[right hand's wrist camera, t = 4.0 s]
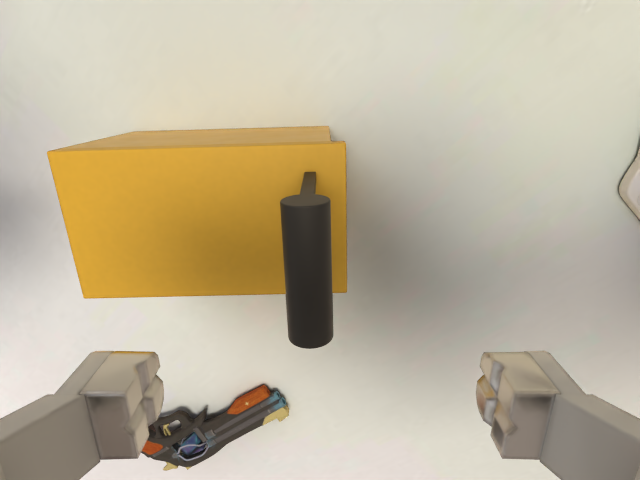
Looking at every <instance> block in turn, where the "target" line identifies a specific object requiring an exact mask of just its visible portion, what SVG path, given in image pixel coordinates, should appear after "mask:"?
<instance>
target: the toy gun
mask: <svg viewBox="0 0 640 480" xmlns="http://www.w3.org/2000/svg"><path fill="white" fill-rule="evenodd" d="M288 415H289V408H288V407H287V406H286V401H285V399H284V398H283V397H281V398H280V394H279V392H278V391H275V392H274V391H272V392H270V391H269V389H268V388H267V387H266V386H265V385H262V386H260V387H258V388H256V389H254V390H252V391H250V392H249V393H247V394H245V395H243V396H241V397H239V398H237V399H236V400H235V401H234V403H233V404H232V405H231V407H230V408H229V409H228V410H227V411H226V412H224V413H222V414H220V415H219V416H217V417H214V418H211V419H207V420H204V419H205V417H206V409H204V411H203V412H202V413H201V414H200V415H199V416H198V417H196V418H195V419H192V418H190V416H189V415H188V414H187V413H186V412H184V411H181V410H180V411H177V412H175V413H173V414H171V415H169V416H165V417H161V418H158V419H157V421H155V422H154V423H153V426H154V428H155V430H156V432H155V431H153V430H151V429H149V428H148V430H149V437H148V439H147V441H146V443H145V445H144V447H143V449H142V451H141V453H143V454H145V455H146V456H147V457H151V458H152V459H155V460H160V461H166V463H167V465H166V466H165V467H164V469H163V470H170V469H173V468H174V469H176V468H178V466H179V465H180V466H183V467H186V468H187V470H188V469H189V468H190V467H192V466H194V465H196V464H198V463H200V462H202V461H204V460H205V459H207V458H209V457H211V456H212V455H214V454H215V453H217V452H218V451H219V450H220V449H222V448H223V447H224V446H225V445H226V444H228V443H229V442H231V441H233V440H235V439H237V438H239V437H240V436H242V435H244V434H246V433H248V432H250V431H252V430H254V429H256V428H258V427H260V426H263V425H265V424H266V423H268V422H270V421H272V420H274V419H276V418H277V419H278V420H279V422H281V421H282V420H283V419H285V418H286V417H287V416H288ZM175 420H179V421H180V422H181V427H179V428H178V429H176V430H174V431H172V432H170V431H169V429H168V428H167V426H169V424H170V423H171V422H173V421H175ZM163 424H164V426H163V430H164V432H163V431H162V429H161V427H160V425H163ZM165 429H166V430H165ZM166 431H167V432H166ZM188 435H189V436H188ZM187 436H188V437H187ZM185 437H187V439H186V440H185V441H184V442H183V440H184V438H185ZM180 440H182V441H181V445H179V444H178V443H177V442H178V441H180ZM206 443H207V444H208V447H207V448H205V449H204V447H205V444H206ZM199 451H200V452H199ZM197 452H198V453H197ZM194 453H195V454H194Z"/></svg>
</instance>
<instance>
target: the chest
mask: <svg viewBox="0 0 640 480" xmlns="http://www.w3.org/2000/svg"><path fill="white" fill-rule="evenodd" d="M296 142H331V137H330V131H329V126H312V127H277V128H242V129H207V130H172V131H138V132H130V133H125V134H121V135H116V136H112V137H108V138H103V139H99V140H95V141H90V142H86V143H82V144H77V145H73V146H68V147H64V148H60V149H83V148H119V147H154V146H190V145H225V144H261V143H296Z"/></svg>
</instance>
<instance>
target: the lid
mask: <svg viewBox="0 0 640 480" xmlns="http://www.w3.org/2000/svg"><path fill="white" fill-rule="evenodd" d="M47 155H48V159H49V163H50V167H51V171H52V174H53V178H54V182H55V186H56V190H57V194H58V198H59V202H60V206H61V210H62V214H63V218H64V222H65V226H66V230H67V234H68V238H69V242H70V246H71V249H72V253H73V257H74V261H75V265H76V269H77V273H78V277H79V281H80V285H81V289H82V293H83V297H84V298H126V297H171V296H216V295H260V294H286V305H287V321H288V337H289V340H290V341H291V343H292V344H294V345H296V346H298V347H301V348H309V349H311V348H318V347H322V346H324V345H326V344H328V343H329V342H330V341H331V340H332V338H333V297H332V293H346V292H347V217H346V143H345V141H332V142H296V143H261V144H225V145H190V146H154V147H119V148H83V149H56V150H52V151H48V152H47Z"/></svg>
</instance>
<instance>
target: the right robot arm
mask: <svg viewBox="0 0 640 480" xmlns="http://www.w3.org/2000/svg"><path fill="white" fill-rule="evenodd" d="M619 194H620V196H621V198H622V199H623V200H624V201H625V202H626V204H627V205H628V206H629V207H630V209H631V210H632V211H633V212H634V214H635V215H636V216H637V217H638V218H639V220H640V147H639V151H638V154H637V157H636V159H635V161H634V162H633V163H632V165H631V166H630V168H629V169H628V171H627V172H626V174H625V176H624V177H623V179H622V181H621V183H620V186H619ZM159 368H160V363H159V358H158V355H157V354H156V353H155V352H134V351H115V352H114V351H95V352H92V353H90V354H89V355H88V356H87V358H86V359H85V360H84V361H83V362H82V363H81V364H80V365H79V367H78V368H77V369H76V370H75V371H74V372H73V373H72V375H71V376H70V377H69V378H68V379H67V380H66V381H65V383H64V384H63V385H62V386H61V387H60V388H59V389H58V391H57V392H56V393H55V394H54V395H46V396H44V397H42V398H40V399H38V400H36V401H34V402H32V403H30V404H28V405H26V406H24V407H22V408H20V409H18V410H16V411H15V412H13V413H11V414H9V415H7V416H5V417H3V418H1V419H0V480H79V479H80V478H82V477H83V476H84V475H85V474H86V473H87V472H89V471H90V470H91V469H92V468H93V467H94V466H96V465H97V464H98V463H99V462H100V460H102V459H136V458H138V457H139V455H140V453H141V451H142V449H143V447H144V445H145V443H146V441H147V439H148V437H149V430H148V426H150V425H151V424H153V423H154V422H155V421H157V419H158V417H159V414H160V412H161V409H162V404H163V400H164V387H163V381H162V380H161V379H160V378H159V377H158V376H157V375H156V373H157V371H158V369H159ZM480 368H481V369H482V371H483V373H484V375H483V376H482V377H481V378H480V379H479V380H478V381H477V388H476V398H477V405H478V409H479V412H480V414H481V417H482V419H483V421H485V422H486V423H487V424H489V425H490V426H492V430H491V437H492V439H493V441H494V443H495V445H496V447H497V449H498V451H499V453H500V455H501V457H502V458H503V459H538V460H540V462H541V463H542V464H543V465H545V466H546V467H547V468H548V469H549V470H550V471H552V472H553V473H554V474H555V475H556V476H557V477H559V478H560V479H561V480H640V419H639V418H637V417H635V416H633V415H631V414H629V413H627V412H625V411H623V410H622V409H620V408H618V407H616V406H614V405H612V404H610V403H608V402H606V401H604V400H602V399H600V398H598V397H596V396H594V395H586V394H585V393H584V392H583V391H582V389H581V388H580V387H579V386H578V385H577V384H576V383H575V381H574V380H573V379H572V378H571V377H570V376H569V375H568V374H567V372H566V371H565V370H564V369H563V368H562V367H561V366H560V364H559V363H558V362H557V361H556V360H555V359H554V358H553V356H552V355H551V354H550V353H548V352H546V351H524V352H484V353H483V355H482V357H481V362H480Z"/></svg>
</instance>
